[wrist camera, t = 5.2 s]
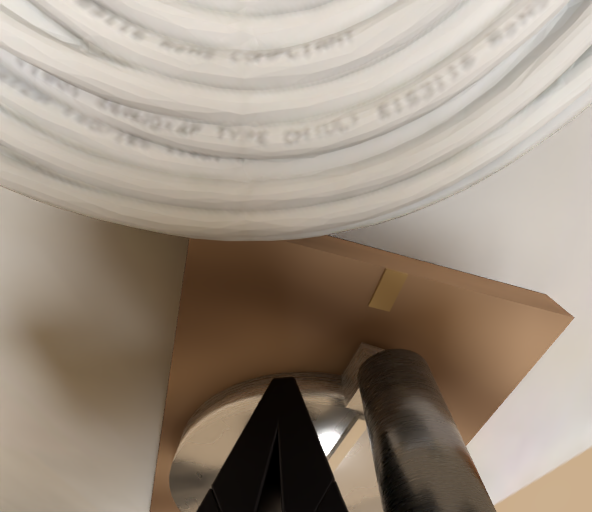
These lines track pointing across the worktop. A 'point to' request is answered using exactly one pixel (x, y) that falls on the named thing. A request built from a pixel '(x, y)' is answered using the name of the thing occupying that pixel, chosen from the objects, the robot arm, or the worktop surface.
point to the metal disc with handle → (351, 437)
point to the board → (344, 326)
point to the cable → (278, 106)
